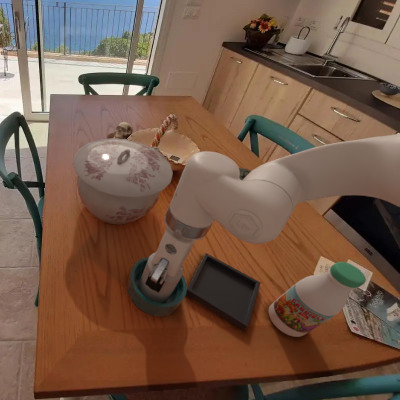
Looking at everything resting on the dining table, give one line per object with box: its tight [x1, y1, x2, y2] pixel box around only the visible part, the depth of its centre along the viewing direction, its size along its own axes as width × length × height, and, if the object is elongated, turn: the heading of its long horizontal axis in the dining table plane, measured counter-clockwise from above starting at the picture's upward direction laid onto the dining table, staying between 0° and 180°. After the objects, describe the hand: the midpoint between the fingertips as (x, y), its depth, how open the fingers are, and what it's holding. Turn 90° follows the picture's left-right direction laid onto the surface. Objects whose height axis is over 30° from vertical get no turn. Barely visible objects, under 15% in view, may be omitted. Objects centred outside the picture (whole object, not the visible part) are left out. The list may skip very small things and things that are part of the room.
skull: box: [106, 121, 134, 139], centre depth 115 cm, size 12×10×10 cm
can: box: [139, 251, 184, 303], centre depth 60 cm, size 8×8×12 cm
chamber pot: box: [72, 138, 174, 226], centre depth 78 cm, size 28×28×21 cm
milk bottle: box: [268, 261, 367, 338], centre depth 54 cm, size 8×8×20 cm
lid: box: [239, 167, 252, 180], centre depth 98 cm, size 11×10×5 cm
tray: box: [185, 252, 262, 331], centre depth 65 cm, size 14×14×2 cm
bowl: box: [126, 256, 188, 317], centre depth 63 cm, size 13×13×5 cm
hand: (161, 272), depth 59 cm, fingers open, 9 cm apart
